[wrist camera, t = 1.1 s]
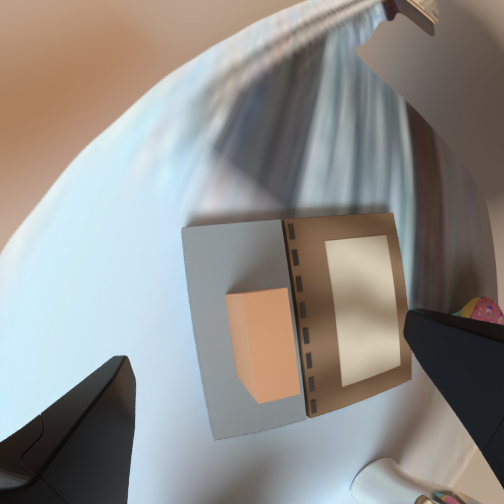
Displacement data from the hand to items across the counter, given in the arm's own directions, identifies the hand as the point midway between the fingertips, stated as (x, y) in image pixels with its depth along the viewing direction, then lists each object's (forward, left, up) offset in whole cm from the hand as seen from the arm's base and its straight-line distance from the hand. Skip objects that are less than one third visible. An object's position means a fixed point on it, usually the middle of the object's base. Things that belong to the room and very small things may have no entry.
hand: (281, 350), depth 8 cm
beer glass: (-21, -13, -14) cm, 29 cm away
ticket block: (-1, -11, -14) cm, 18 cm away
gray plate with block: (-1, -2, -14) cm, 14 cm away
